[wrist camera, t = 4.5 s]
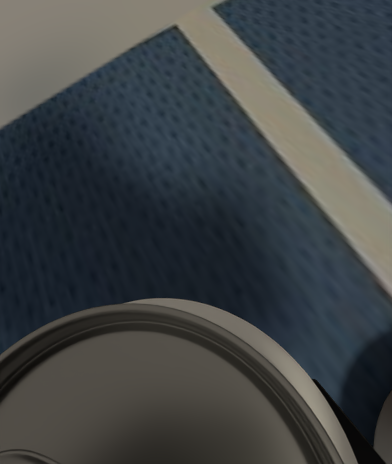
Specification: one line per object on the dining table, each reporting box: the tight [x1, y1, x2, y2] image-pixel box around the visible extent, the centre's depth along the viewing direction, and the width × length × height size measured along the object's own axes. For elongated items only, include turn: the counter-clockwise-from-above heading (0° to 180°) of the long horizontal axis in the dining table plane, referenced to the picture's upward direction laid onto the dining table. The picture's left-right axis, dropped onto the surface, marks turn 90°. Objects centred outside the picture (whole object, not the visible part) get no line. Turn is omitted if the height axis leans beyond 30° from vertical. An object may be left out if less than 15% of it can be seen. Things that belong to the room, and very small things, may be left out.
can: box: [0, 298, 358, 464], centre depth 9 cm, size 6×6×12 cm
